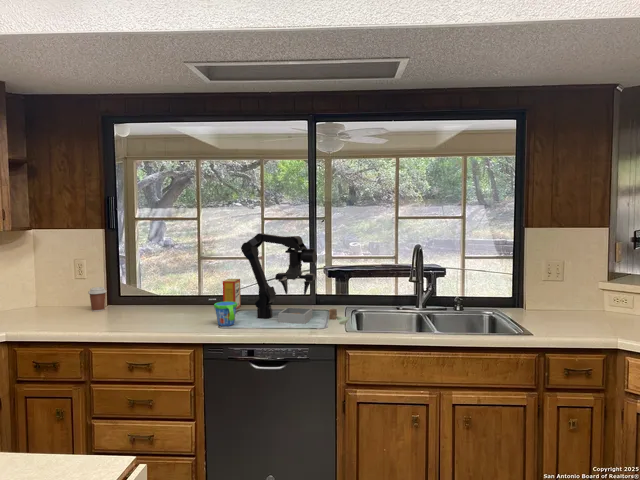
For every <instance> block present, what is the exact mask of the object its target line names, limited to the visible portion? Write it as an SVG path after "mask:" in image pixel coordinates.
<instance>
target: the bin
mask: <svg viewBox="0 0 640 480" xmlns="http://www.w3.org/2000/svg"><path fill="white" fill-rule="evenodd" d="M292 313H300V314H292ZM312 319H313V308H306V307H304V308H303V307H286V308H285V309H283V310H281V311H280V312H278V323H280V324H281V323H283V324H284V323H285V324H295V325H296V324H298V325H300V324H301V325H306V324H307V323H308V322H310V320H312Z"/></svg>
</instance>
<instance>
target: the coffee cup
mask: <svg viewBox="0 0 640 480" xmlns="http://www.w3.org/2000/svg"><path fill="white" fill-rule="evenodd" d="M107 291H108V290H106V289H105V287H104V286H103V287H102V286H97V287H91V288H90V289H89V291H88V293H87V294H88V295H89V299H90V307H91V308H90V309H91V312H103V311H105V310H106V309H105V307H106V293H107Z"/></svg>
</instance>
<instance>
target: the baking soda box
mask: <svg viewBox="0 0 640 480" xmlns="http://www.w3.org/2000/svg"><path fill="white" fill-rule="evenodd" d="M225 301H231V302H236V303H237V307H236V310H238V309H239V308H241V305H242V302H241V301H242V299H241V278H227V279H224V280H223V281H222V302H225Z"/></svg>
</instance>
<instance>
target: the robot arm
mask: <svg viewBox="0 0 640 480" xmlns="http://www.w3.org/2000/svg"><path fill="white" fill-rule="evenodd" d="M263 243H269V244H270V243H271V244H276V245H282V246H284V247H285V248H287V249H286V250H285V251H284V252H285V254H288V257H289V258H288V259H289V261H288V262H289V264H288V269H287V270H286V271H285V272H278V273H276V274H275V278H274V279H275V280H276V281H278V282H279V283H281V285H282V287H283V289H284V293H285V294H286V295H288V291H289V290H288V281H289V280H292V281H295V280H299V279H300V280H304V281H303V283H304V287H303V289H304V290H303V295H304V296H306V295H307V292H308V290H309V287H310V284H311V283H312V282H313V281H315V280H316V278H317V276H316V274H315V273H306V274H303V272H302V266H303V263H304V264H308V263H309V264H316V263H317V261H318V254H317V252H316V248H308V247H307V246H306V244H305V243H304V242H303V238H302V237H301V236H300V235H289V236H284V235H283V236H282V235H276V234H268V233H263V232H261V233H257V234H256V235H255V236H254V237H252V238H250V239H249V240H248V241H246V242H244V243H242V245H241V247H240V250H241V252H242V253H243V255H244V257H245V258H246V260H248V262H249V264H250V267H251V269H252V272H253V275H254V278H255V281H256V284H257V287H258V300H256V301H255V303H254V306H255V308H256V309H257V311H256V312H257V313H256V314H257V316H256V319H262V320H263V319H264V320H269V319H271V318H273V308H272V306H273V303H274V302H275V300H276V298H277V293H276V291H275V287H274V286H270V284H269V283H268V280H267V278H266V275H265V272H264V269H263V267H262V263H261V261H260V259H259V252H260V251H259V247H261V245H262V244H263ZM302 262H303V263H302Z"/></svg>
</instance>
